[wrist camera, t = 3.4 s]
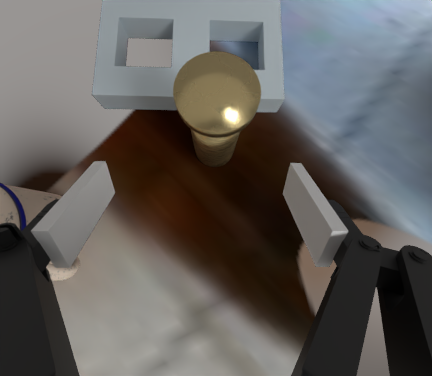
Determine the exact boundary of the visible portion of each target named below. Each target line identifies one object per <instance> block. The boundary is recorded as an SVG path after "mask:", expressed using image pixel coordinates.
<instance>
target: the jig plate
mask: <svg viewBox="0 0 432 376" xmlns="http://www.w3.org/2000/svg"><path fill="white" fill-rule="evenodd" d="M128 38H145V39H173V42H172V63H171V68H168V67H131V66H126V56H127V44H128ZM210 40H211V41H245V42H258V59H259V70H254V71H255V73H256V74H257V76H258V79H259V81H260V86H261V99H260V103H259V106H258V109H257V111H256V112H277V111H278V109H279V108H280V106H281V104H282V103H283V101H284V77H283V54H282V32H281V9H280V0H102V8H101V17H100V26H99V35H98V44H97V53H96V62H95V71H94V80H93V90H92V95H93V96H94V98H95V99H96V100H97V101H98V102H99V103H100V104H101V105H102V106H103V107H104V108H105V109H107V108H108V109H147V110H177V108H176V104H175V101H174V96H173V86H174V81H175V78H176V76H177V74H178V72H179V70H180V69H181V68H182V66H183V65H184V64H185V63H186V62H187V61H189V60H190V59H192V58H193V57H195V56H197V55H200V54H202V53H206V52H210Z"/></svg>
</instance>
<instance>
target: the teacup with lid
mask: <svg viewBox="0 0 432 376" xmlns="http://www.w3.org/2000/svg"><path fill="white" fill-rule="evenodd" d="M61 197H62V196H60V195H57V194H52V193H47V192H42V191H36V190H31V189H26V188H20V187H15V186H10V185H4V184H2V183H0V224H2V223H10V222H11V223H15V224H16V225H17V227H18V228H19V230H20V231H22V230H23V229H24V228H25V227H26V226H27V225H28V224H29V223H30V222H31V221H32V220H33V219H34V218H36V215H37V214H38V213H39V212H41V210H42V209H43V208H44V207H45V206H46V205H47V204H49V203H50V202H52V201H54V200H55V199H60V198H61ZM79 265H80V262H79V259H78V257H76V259H75V261H74V262H73V264H72V266H71V267H70V268H55V267H54V265H53V264H52V262H51V261H50V262H49V264H48V265H47V267H46V268H47V269H48V271H49V274H50V277H51V280H52V281H61V280H66V279H68V278H70V277H72V276H73V275H74V274H75V273H76V271H77V269H78V268H79Z"/></svg>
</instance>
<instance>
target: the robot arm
mask: <svg viewBox="0 0 432 376" xmlns="http://www.w3.org/2000/svg"><path fill="white" fill-rule="evenodd" d="M114 194H115V190H114V187H113V184H112V181H111V177H110V174H109V171H108V168H107V164H106V161H94V162H93V163H92V164H91V166H90V167H89V168H88V169H87V170H86V171H85V172H84V173H83V174H82V175H81V177H80V178H79V179H78V180H77V181H76V182H75V183H74V184H73V185H72V186H71V187H70V189H69V190H68V191H67V192H66V193H65V194H64V195H63V196H62V197H61V198H60V199H55V200H54V201H52V202H50V203H49V204H47V205H46V206H45V207H44V208H43V209H42V210H41V212H39V213H38V214H37V215H36V218H34V219H33V220H32V221H31V222H30V223H29V224H28V225H27V226H26V227H25V228H24V229H23V230H22V231H20V230H19V228H18V227H17V225H16V224H15V223H11V222H10V223H2V224H0V376H79V373H78V369H77V366H76V362H75V359H74V356H73V352H72V349H71V345H70V342H69V339H68V335H67V332H66V328H65V325H64V321H63V318H62V315H61V311H60V308H59V304H58V301H57V298H56V294H55V291H54V287H53V284H52V280H51V277H50V274H49V271H48V269H47V268H46V267H47V265H48V264H49V262H50V261H51V262H52V264H53V265H54V267H55V268H70V267H71V266H72V264H73V262H74V261H75V259H76V257H77V256H78V254H79V252H80V251H81V249H82V247H83V246H84V244H85V242H86V241H87V239H88V237H89V236H90V234H91V232H92V231H93V229H94V227H95V226H96V224H97V222H98V221H99V219H100V217H101V216H102V214H103V212H104V211H105V209H106V207H107V206H108V204H109V202H110V201H111V199H112V197H113V196H114ZM283 195H284V197H285V200H286V202H287V204H288V206H289V209H290V211H291V213H292V215H293V217H294V220H295V222H296V224H297V226H298V228H299V231H300V233H301V235H302V237H303V239H304V242H305V244H306V246H307V248H308V250H309V253H310V255H311V257H312V259H313V261H314V264H315V266H316V267H330V265H331V263H332V261H333V260H334V261H335V263H336V265H337V267H336V269H335V270H334V272H333V274H332V276H331V280H330V283H329V285H328V288H327V290H326V293H325V295H324V297H323V300H322V302H321V305H320V307H319V310H318V312H317V314H316V317H315V319H314V322H313V324H312V326H311V329H310V331H309V334H308V336H307V339H306V341H305V343H304V346H303V348H302V351H301V353H300V356H299V358H298V360H297V363H296V365H295V368H294V370H293V373H292V375H291V376H356V375H357V370H358V365H359V361H360V356H361V352H362V347H363V343H364V338H365V333H366V329H367V324H368V320H369V315H370V311H371V306H372V302H373V297H374V292H375V288H376V287H377V289H378V296H379V303H380V310H381V317H382V324H383V331H384V338H385V345H386V352H387V359H388V366H389V373H390V376H432V256H431V255H430V254H429V253H427V252H426V251H424V250H422V249H420V248H418V247H415V246H410V245H408V246H404V247H402V248H401V250H400V251H396V250H392V249H387V248H383V247H382V246H381V244H380V243H379V242H377V241H376V240H375V239H373V238H371V237H369V236H366V235H363V234H362V233H361V231H360V230H359V229H358V227H357V226H356V225H355V224H354V222H353V221H352V220H351V218H349V216H348V214H347V213H345V210H344V209H343V208H342V206H341V205H340V204H338V203H337V202H335V201H334V200H326V198H325V197H324V195H323V194H322V193H321V191H320V190H319V188H318V187H317V185H316V184H315V183H314V181H313V180H312V178H311V177H310V175H309V174H308V173H307V171H306V170H305V168H304V167H303V165H302V164H301V163H290V167H289V171H288V175H287V179H286V183H285V187H284V191H283Z"/></svg>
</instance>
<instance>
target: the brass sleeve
mask: <svg viewBox="0 0 432 376" xmlns="http://www.w3.org/2000/svg"><path fill="white" fill-rule="evenodd" d="M173 96H174V101H175V104H176V108H177V111H178V113H179V115H180V117H181V119H182V120H183V122H184V123H185V124H186V125H187V126H188V127H189V128H190V129H191V133H192V138H193V143H194V147H195V152H196V155H197V157H198V159H199V160H200V161H201V162H202V163H203V164H205V165H207V166H210V167H219V166H222V165H224V164H226V163H227V162H228V161H229V160H230V159H231V157H232V155H233V152H234V149H235V145H236V142H237V139H238V136H239V133H240V131H241V130H243V129H244V128H245V127H247V125H248V124H249V123H250V122H251V121H252V119H253V117H254V116H255V113H256V111H257V109H258V106H259V103H260V99H261V86H260V81H259V79H258V76H257V74H256V73H255V71H254V70H253V68H252V67H251V66H250V65H249V64H248V63H247V62H246V61H244V60H243V59H241V58H240V57H238V56H236V55H233V54H230V53H226V52H219V51H214V52H206V53H202V54H200V55H197V56H195V57H193V58H192V59H190V60H189V61H187V62H186V63H185V64H184V65H183V66H182V68H181V69H180V70H179V72H178V74H177V76H176V78H175V81H174V86H173Z"/></svg>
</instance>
